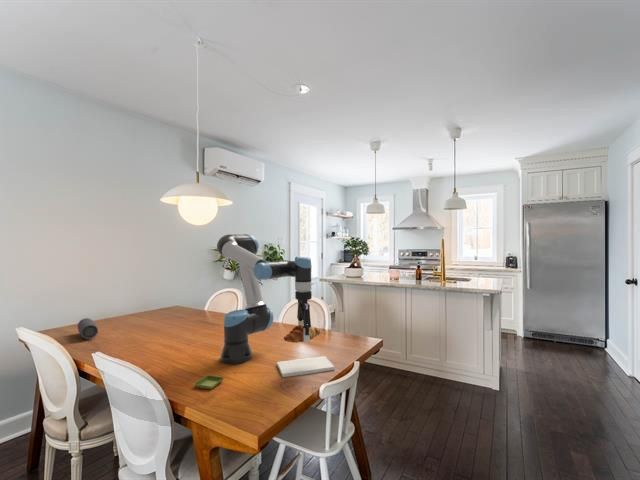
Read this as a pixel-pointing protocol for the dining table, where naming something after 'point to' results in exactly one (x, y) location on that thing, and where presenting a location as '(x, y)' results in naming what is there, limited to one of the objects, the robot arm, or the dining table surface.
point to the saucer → (208, 382)
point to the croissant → (301, 334)
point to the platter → (304, 366)
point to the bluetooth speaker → (87, 328)
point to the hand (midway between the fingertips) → (303, 338)
